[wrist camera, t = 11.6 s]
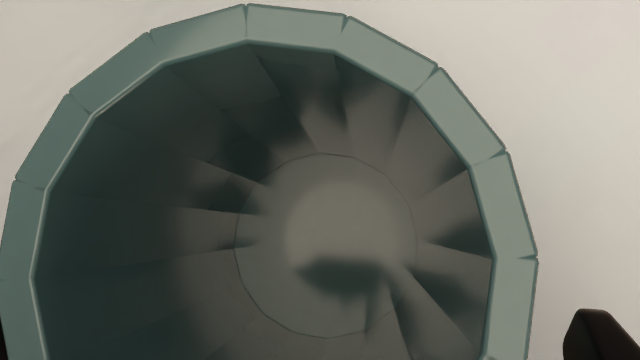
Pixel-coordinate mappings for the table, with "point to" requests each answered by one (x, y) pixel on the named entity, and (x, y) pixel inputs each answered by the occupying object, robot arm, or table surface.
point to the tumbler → (267, 205)
